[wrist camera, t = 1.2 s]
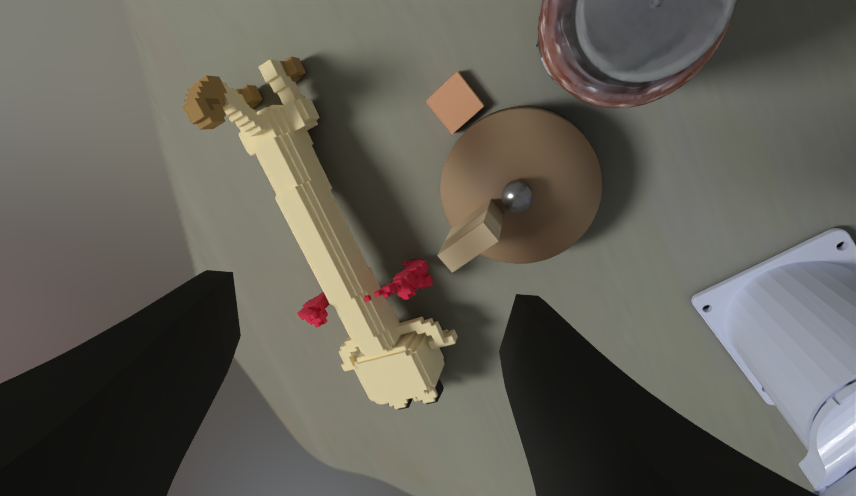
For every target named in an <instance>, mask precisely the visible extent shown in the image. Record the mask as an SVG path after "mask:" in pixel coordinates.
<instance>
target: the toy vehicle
mask: <svg viewBox="0 0 856 496" xmlns="http://www.w3.org/2000/svg"><path fill="white" fill-rule="evenodd" d="M259 69H260V71H261V73H262V75H263V77H264V79H265V81H266V83H269V84H270V86H271V88H272V89H273V91H274V93H278V95H279V97H280V99H281V101H282V103H283V105H271V106H270V107H265V108H263V109H261V110H260V111H258V112H256V111H255V110H253V109H252V108H254V107H256V106H257V105H259V104H260V101H261V100H263V99H262V97H261V95H260V93H259V91H258V89H257V87H256V86H253V85H246V86H244V87H243V88H241V89H240V90H239V89H233V88H229V87H228V85H227V83H224V82H222V81H221V79H220V77H216V76H205V77H203V78H202V79H200V80H199V81H198V82H196V83H195V84H194V85H193V86H191V87H190V88H189V89H188V90H189V93H188V94H186V96H187V99H186V100H184V101H185V103H186V104H185V105H184V106H182V107H183V109H184V110H185V112H186V114H187V116H188V118H189V120H190V121H191V123H192V124H197V125H198V127H199V129H200V130H202V129H214V128H215V127H217V126H219V125H220V124H222V123H223V122H225V119H224V117H229V119H230V121H231V122H235V123H236V125H237V127H239V128H240V130H241V132H240V133H239V137H240V139H241V141H242V143H243V145H244V147H245V148H246V150H247V152H248V153H249V154H250V156H252V155H257V157H258V159H259V161H260V163H261V165H262V167H263V169H264V171H265V173H266V175H267V177H268V179H269V181H270V183H271V185H272V186H273V188H274V190H275V192H276V194H277V196H276V197H275V199H276V201H277V203H278V205H279V207H280V209H281V211H282V213H283V214H284V216H285V218H286V220H287V222H288V224H289V226H290V228H291V230H292V232H293V234H294V236H295V238H296V240H297V241H298V243H299V245H300V247H301V249H302V251H303V253H304V255H305V257H306V259H307V261H308V263H309V265H310V267H311V269H312V270H313V272H314V274H315V276H316V278H317V280H318V282H319V284H320V286H321V288H322V290H323V293H321V294H320V295H319V296H317V297H314V298H313V299H311V300H309V301H308V302H306V303H305V304H304V305H303V307H304V308H303V309H302V310H300V311H299V312H298V315H299V317H300V318H301V319H302V320H303V319H305V320H306V321H307V322H309V323H310V324H311V325H312V324H314V325H315V326H316V327H320V326H321V325H322V324H325V323H326V322H327V319H326V317H327V316H328V314H327V312H326V310H325V308H326V307H327V306H328V305H329V303H331V304H332V305H334V307H335V309H336V311H337V312H338V314H339V316H340V318H341V320H342V322H343V324H344V326H345V328H346V330H347V332H348V334H349V336H350V337H349V338H348V339H347V340H346V341H345V343H343V344H342V345H341V347H340V350H339V354H340V356H341V358H342V360H343V363H342V364H341V366H342V368H343V369H344V371H348V370H352V369H354V370H355V372H356V374H357V376H358V378H359V380H360V382H361V384H362V385H363V387H364V389H365V391H366V393H367V395H368V397H369V399H371V401H375V402H376V403H377V404H379V403H380V405H381V404H386V403H388V404H389V405H390V406H393V407H394V408H395V409H398V410H399V409H404V408H409V406H410V404H411V401H412V399H414V401H420V400H421V401H423V403H426V404H430V403H435V402H438V399H439V398H440V395H441V394H442V391H443V389H444V388H443V385H442V383H441V381H440V379H439V377H440V374H441V372H442V369H443V367H444V364H445V363H444V361H443V359H444V357H443V354H442V352H441V350H440V347H444V346H448V345H452V344H455V343H456V340H457V338H458V336H457V334H456V332H455V329H454V330H450V331H448V329H447V330H443V331H442V329H441V327H440V325H439V322H438V321H435V322H434V321H433V319H432V318H430V319H427V320H424V318H423V316H422V317H419V318H415V319H412V320H408V321H405V322H401V323H400V322H399V320H398V318H397V315H396V313H395V311H394V309H393V307H392V305H391V304H390V305H389V304H388V302H387V300H386V298H387V297H389V296H390V295H391V294H394V293H395V292H396V291H398V293H397V294H398V296H399V297H402V299H405V300H407V299H409V298H410V297H411V296H415V294H416V292H415V290H414V289H417V288H419V289H422V288H425V287H428V286H431V285H432V284H433V280H432V277H431V275H430V274H427V270H428V269H429V266H428V264H427V262H426V260H424V261H423V260H422V258H420V259H417V260H415V259H414V260H413V259H411V260H409V261H408V262H407V263H406V261H405V262H402V264H403V267H404V266H406V267H405V268H404V270H403V271H402V272H399V273H397V274H396V275H395V277H394V278H393V280H394V281H393V282H392V283H390V284H387V285H384V286H383V287H382V288H380V286H379V283H378V281H377V279H376V277H375V275H374V273H373V271H372V269H371V267H370V268H369V267H368V266H367V264H366V262H365V260H364V258H363V256H362V254H361V252H360V250H359V248H358V246H357V244H356V241H355V239H354V237H353V235H352V233H351V231H350V229H349V227H348V225H347V223H346V221H345V219H344V217H343V215H342V213H341V211H340V209H339V207H338V204H337V202H336V200H335V198H334V196H333V194H332V192H331V189H332V187H331V184H330V182H329V180H328V178H327V176H326V174H325V172H324V170H323V168H322V166H321V164H320V162H319V160H318V158H317V156H316V154H315V151H314V149H313V147H312V145H313V142H312V140H311V138H310V136H309V133H308V131H307V130H309V129H311V128H313V127H314V126H316V125H318V123H317V120H318V118H320V117H319V115H318V113H317V111H316V109H315V107H314V105H313V102H312V100H311V99H306V98H305V96H302V95H301V93H300V91H299V89H298V87H297V85H296V81H298V80H300V79H301V78H302V77H301V76H302V75H303V74H305V73H306V72H305V70H304V68H303V66H302V64H301V61H300V59H299V58H295V57H289V58H287V59H286V60H284V61H283V62H282V61H277V60H271V59H270V60H268V61H267V62H265V63H264V64H262V65H261V66H259ZM328 302H329V303H328ZM358 348H359V349H360V351H361V353H357V354H354V353H355V351H357V350H358ZM353 354H354V355H353Z"/></svg>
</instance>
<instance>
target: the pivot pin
mask: <svg viewBox="0 0 856 496" xmlns="http://www.w3.org/2000/svg"><path fill="white" fill-rule="evenodd" d="M531 202H532V189H531V187H530V185H529V184H528V183H527V182H525V181H523V180H513V181H510V182H509V183H507V184H506V186H505V187H504V189H503V193H502V203H503V205H504V206H505V208H506V209H508V210H509V211H512V212H522V211H524V210H526V209H527V208H528V207H529V206H530V204H531Z"/></svg>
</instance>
